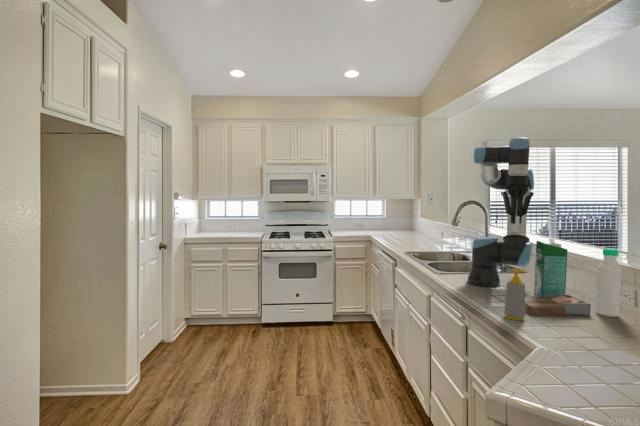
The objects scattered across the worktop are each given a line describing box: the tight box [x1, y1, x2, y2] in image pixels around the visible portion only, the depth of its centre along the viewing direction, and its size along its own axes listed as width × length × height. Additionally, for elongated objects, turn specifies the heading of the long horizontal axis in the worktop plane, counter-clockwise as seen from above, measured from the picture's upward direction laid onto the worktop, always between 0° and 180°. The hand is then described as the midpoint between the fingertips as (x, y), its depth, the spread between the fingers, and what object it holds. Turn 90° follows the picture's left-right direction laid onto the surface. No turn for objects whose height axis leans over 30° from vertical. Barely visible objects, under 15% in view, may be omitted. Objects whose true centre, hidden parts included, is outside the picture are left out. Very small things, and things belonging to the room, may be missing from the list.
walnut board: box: [525, 296, 566, 317], centre depth 152 cm, size 15×12×3 cm
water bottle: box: [595, 248, 622, 318], centre depth 146 cm, size 7×7×25 cm
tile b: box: [569, 297, 581, 303], centre depth 152 cm, size 5×5×2 cm
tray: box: [544, 293, 592, 316], centre depth 152 cm, size 13×10×4 cm
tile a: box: [551, 296, 572, 307], centre depth 152 cm, size 5×5×2 cm
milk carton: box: [533, 240, 568, 297], centre depth 165 cm, size 9×9×25 cm
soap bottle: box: [503, 268, 527, 321], centre depth 141 cm, size 7×7×18 cm
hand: (515, 231), depth 164 cm, fingers closed
